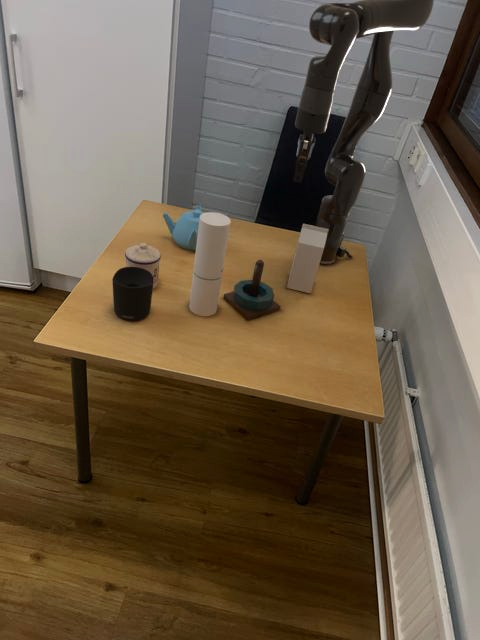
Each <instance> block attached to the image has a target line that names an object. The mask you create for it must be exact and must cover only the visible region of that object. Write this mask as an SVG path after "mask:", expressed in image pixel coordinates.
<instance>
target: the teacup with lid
mask: <svg viewBox="0 0 480 640" xmlns="http://www.w3.org/2000/svg"><path fill="white" fill-rule="evenodd" d="M124 256H125V267H139V268H143V269H146V270H148V271H149V272H150V273H151V274H152V276H153V290H154V289H155V288H156V287H157V286H158V284H159V277H160V276H159V275H160V262H161V261H160V260H161V259H162V255H161V253H160V251H159V250H158V249H157V247H154V246H151V245H148V244H147V243H146V242H140V243H139V244H134V245H132V246H129V247H128V248H127V249H126V250H125V253H124Z"/></svg>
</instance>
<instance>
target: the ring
mask: <svg viewBox="0 0 480 640" xmlns="http://www.w3.org/2000/svg"><path fill="white" fill-rule="evenodd" d="M251 283H252V279H243V280H240V281H239V282H237V283H236V284H235V285H234V286H233V291H234V292H233V291H232V292H233V296H234V301H235V302H236V303H237V304H239V305H240V306H241V307H243V308H246V309H250V310H254V311H255V310H256V311H258V310H265V309H268V308H269V307H270V306H271V305H272V303H273V300H274V299H275V292H274V289H273V287H271V286H270V285H268V284H266V282H263V281H261V282H260V286H259V291H258V294H259V295H261V296H262V297H257V298H256V297H252V296H248V295H247V294H245V293H247V292H250V288H251Z"/></svg>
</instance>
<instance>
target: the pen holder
mask: <svg viewBox="0 0 480 640" xmlns="http://www.w3.org/2000/svg"><path fill="white" fill-rule="evenodd" d="M111 279H112V281H111V282H112V298H113V299H112V300H113V301H112V302H113V312H114V314H115V315H116V317H118V319H121V320H123V321H127V322H139V321H142V320H145V319H146V318H147V317H149V315H150V313H151V307H152V299H153V291H154V289H153V276H152V274H151V273H150V272H149V271H148V270H146V269H143V268H139V267H126V266H124V267H121V268H119V269H117V271H116V272H115V273H114V274H113V276H112V278H111Z"/></svg>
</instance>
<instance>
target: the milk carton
mask: <svg viewBox="0 0 480 640" xmlns="http://www.w3.org/2000/svg"><path fill="white" fill-rule="evenodd" d="M327 233H328V229H325V228H320V227H316V226H315V225H311V224H306V223H302V226H301V229H300V233H299V237H298V242H297V245H296V249H295V253H294V257H293V261H292V265H291V269H290V272H289V276H288V280H287V285H286V288H287V289H291V290H294V291H298V292H303V293H306V294H311V293H312V291H313V287H314V284H315V281H316V277H317V273H318V269H319V267H320V264H319V263H320V260H321V257H322V253H323V250H324V246H325V242H326V238H327Z"/></svg>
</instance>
